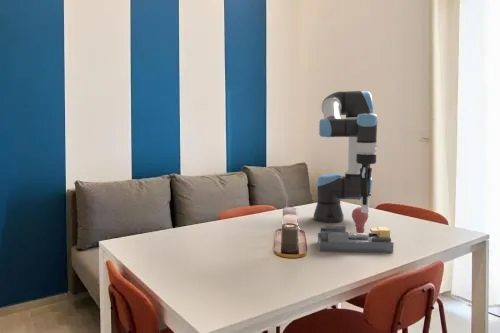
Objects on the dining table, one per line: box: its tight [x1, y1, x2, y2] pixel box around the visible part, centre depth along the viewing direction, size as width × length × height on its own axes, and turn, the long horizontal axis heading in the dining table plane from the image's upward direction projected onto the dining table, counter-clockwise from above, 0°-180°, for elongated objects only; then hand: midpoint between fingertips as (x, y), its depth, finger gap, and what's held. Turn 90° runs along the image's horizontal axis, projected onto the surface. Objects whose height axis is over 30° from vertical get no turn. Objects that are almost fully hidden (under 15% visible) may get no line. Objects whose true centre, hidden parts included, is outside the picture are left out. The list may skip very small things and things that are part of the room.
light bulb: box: [351, 206, 369, 233], centre depth 186 cm, size 7×7×12 cm
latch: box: [369, 226, 391, 238], centre depth 166 cm, size 7×5×4 cm
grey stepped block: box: [317, 225, 394, 253], centre depth 168 cm, size 28×12×7 cm, turn 85°
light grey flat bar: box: [348, 232, 369, 238], centre depth 168 cm, size 18×3×1 cm, turn 85°
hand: (364, 212), depth 166 cm, fingers closed
